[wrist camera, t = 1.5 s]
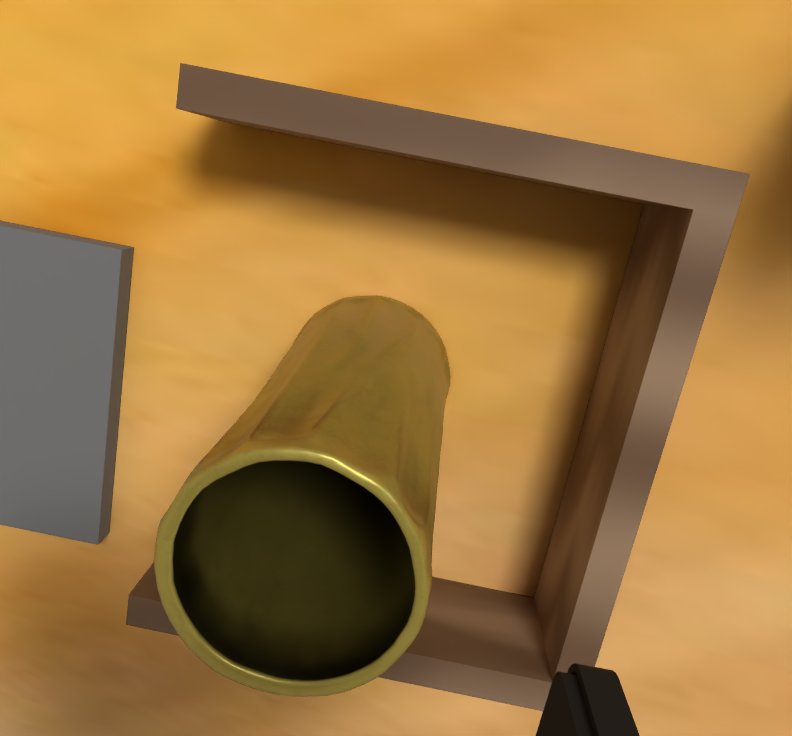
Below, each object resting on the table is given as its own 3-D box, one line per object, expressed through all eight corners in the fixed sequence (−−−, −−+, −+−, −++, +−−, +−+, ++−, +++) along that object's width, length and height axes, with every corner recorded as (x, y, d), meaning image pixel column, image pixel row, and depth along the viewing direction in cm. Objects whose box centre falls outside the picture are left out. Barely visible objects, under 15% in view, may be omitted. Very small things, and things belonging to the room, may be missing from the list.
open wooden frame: (555, 628, 29) (578, 718, 24) (179, 550, 29) (126, 624, 24) (688, 175, 24) (750, 173, 19) (232, 86, 24) (180, 63, 19)
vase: (406, 265, 25) (362, 366, 12) (476, 410, 27) (511, 656, 13) (262, 336, 26) (65, 504, 13) (336, 472, 28) (229, 760, 14)
